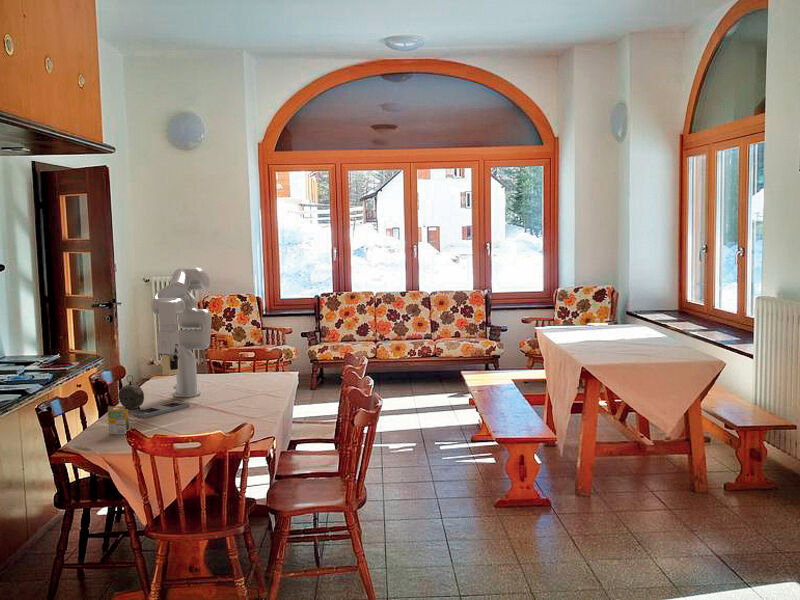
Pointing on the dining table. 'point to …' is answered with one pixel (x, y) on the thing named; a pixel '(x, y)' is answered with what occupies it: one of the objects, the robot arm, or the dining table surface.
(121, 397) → the alarm clock
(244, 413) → the dining table surface
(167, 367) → the brushed gold block
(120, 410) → the crayon box
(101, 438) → the dining table surface
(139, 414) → the divided tray
